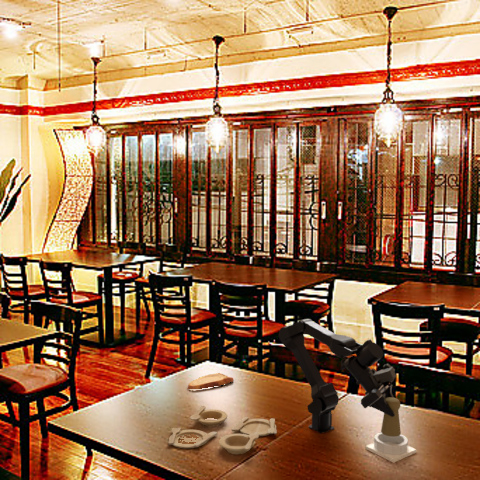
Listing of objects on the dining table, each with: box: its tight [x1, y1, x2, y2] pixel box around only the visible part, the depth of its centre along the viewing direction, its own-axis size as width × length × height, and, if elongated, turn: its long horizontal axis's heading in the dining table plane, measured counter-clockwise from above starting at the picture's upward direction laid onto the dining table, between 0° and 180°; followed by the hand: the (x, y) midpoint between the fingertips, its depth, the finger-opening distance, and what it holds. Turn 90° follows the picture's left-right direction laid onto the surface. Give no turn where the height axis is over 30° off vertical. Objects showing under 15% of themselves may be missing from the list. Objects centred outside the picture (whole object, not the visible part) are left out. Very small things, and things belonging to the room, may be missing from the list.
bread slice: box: [187, 372, 235, 389], centre depth 237 cm, size 18×18×4 cm
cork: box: [380, 396, 402, 437], centre depth 176 cm, size 6×6×11 cm
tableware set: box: [167, 405, 278, 455], centre depth 189 cm, size 35×29×4 cm
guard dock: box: [365, 431, 417, 464], centre depth 177 cm, size 11×11×4 cm
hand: (395, 413), depth 175 cm, fingers closed on cork, 5 cm apart
